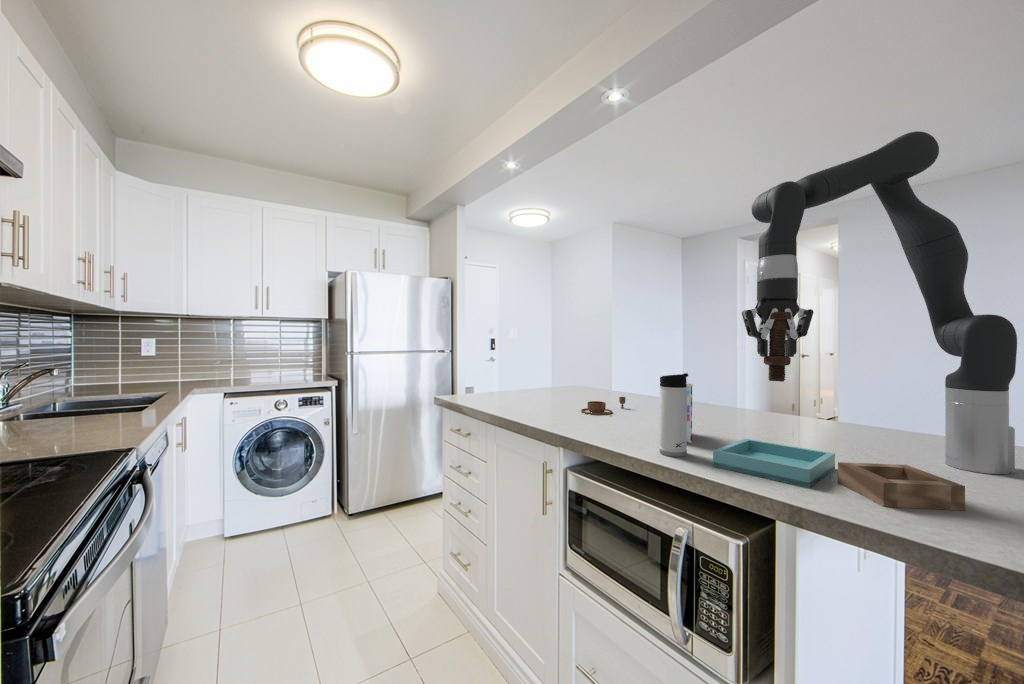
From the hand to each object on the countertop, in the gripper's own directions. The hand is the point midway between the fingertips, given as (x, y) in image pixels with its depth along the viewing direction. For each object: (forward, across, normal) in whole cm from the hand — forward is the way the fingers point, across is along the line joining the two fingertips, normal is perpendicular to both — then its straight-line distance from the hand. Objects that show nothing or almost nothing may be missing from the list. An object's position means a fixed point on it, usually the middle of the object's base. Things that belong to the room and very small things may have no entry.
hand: (776, 356), depth 91 cm
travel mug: (+25, +19, -10) cm, 33 cm away
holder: (+24, -14, +14) cm, 31 cm away
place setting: (+26, +30, -68) cm, 79 cm away
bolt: (+6, 0, 0) cm, 6 cm away
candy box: (+25, +14, -28) cm, 40 cm away
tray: (+25, 0, -1) cm, 25 cm away
